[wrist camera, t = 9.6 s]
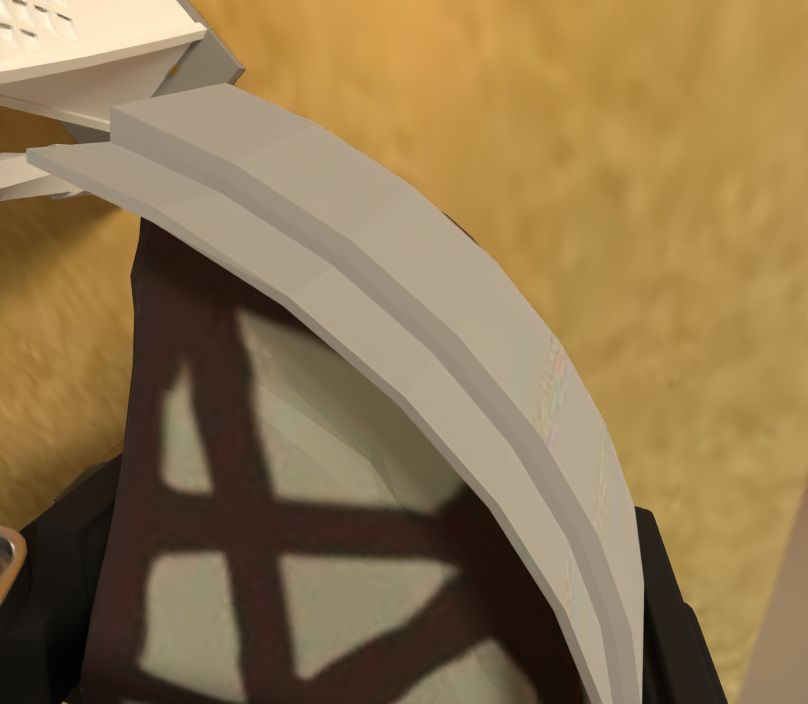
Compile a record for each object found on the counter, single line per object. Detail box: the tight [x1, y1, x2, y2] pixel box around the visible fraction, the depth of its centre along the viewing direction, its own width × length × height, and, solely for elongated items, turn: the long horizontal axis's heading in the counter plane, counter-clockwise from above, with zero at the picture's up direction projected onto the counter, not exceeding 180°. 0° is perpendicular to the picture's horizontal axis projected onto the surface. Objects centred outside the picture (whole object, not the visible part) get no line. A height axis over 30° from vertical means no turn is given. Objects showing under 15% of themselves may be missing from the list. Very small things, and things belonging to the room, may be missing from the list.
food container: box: [26, 83, 644, 704], centre depth 10 cm, size 12×6×10 cm, turn 163°
